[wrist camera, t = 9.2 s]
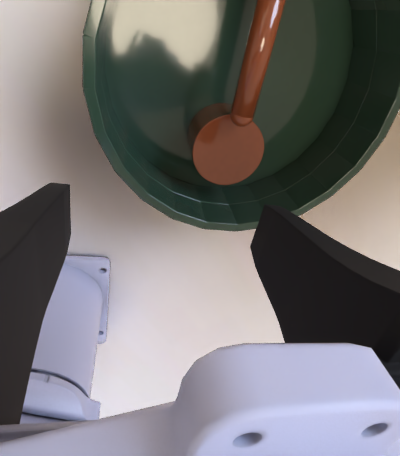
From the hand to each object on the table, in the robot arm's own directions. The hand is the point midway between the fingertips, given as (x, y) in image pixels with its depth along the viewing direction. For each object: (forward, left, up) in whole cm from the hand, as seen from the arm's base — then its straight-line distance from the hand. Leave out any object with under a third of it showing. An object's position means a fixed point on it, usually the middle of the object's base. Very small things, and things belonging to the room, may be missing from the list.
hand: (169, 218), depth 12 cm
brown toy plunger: (+4, -4, -9) cm, 10 cm away
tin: (+4, -4, -9) cm, 11 cm away
